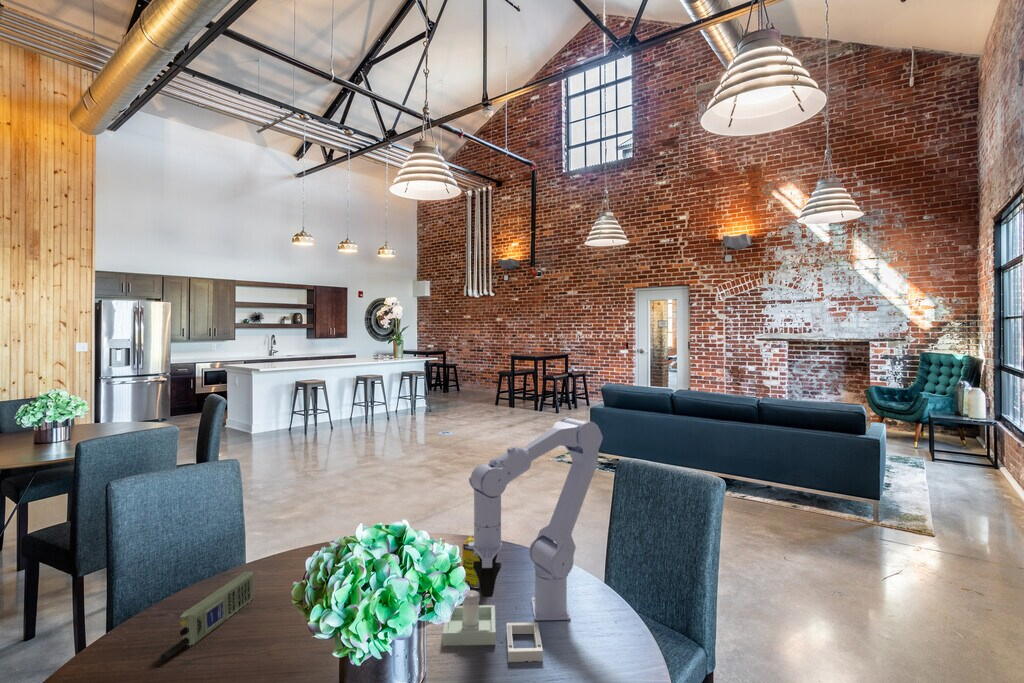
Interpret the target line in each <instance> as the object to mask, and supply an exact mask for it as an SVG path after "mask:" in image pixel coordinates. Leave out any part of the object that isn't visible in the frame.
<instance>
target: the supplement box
mask: <svg viewBox="0 0 1024 683" xmlns="http://www.w3.org/2000/svg"><path fill="white" fill-rule="evenodd" d="M469 542H474V535H470V536H469V537H468V538H467V539H466V540H465V541H464V542H463V543H462V561H461V562H462V565H461V566H463V567H464V569H465V571H466V578H465V582H466V583H467V584H468V585H469V586H470V587H471V586H472V587H479V588H480V584H479V579H478V576H477V574H476V572H475V570H474V568H473V562H474V561H480V560H479V557H478V554H477V553H476V551H475V550H474V549H469V548H468V545H469Z"/></svg>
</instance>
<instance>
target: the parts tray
mask: <svg viewBox="0 0 1024 683" xmlns="http://www.w3.org/2000/svg"><path fill="white" fill-rule="evenodd" d="M456 606H457V607H456V608H455V609H454V611H453V614H452V618H451V621H450V622H448V623H445V624H444V623H443V629H442V646H443V647H446V646H447V647H449V646H491V645H492V646H493V645H494V646H495V645H496V605H494V604H492V605H491V604H489V605H487V604H486V605H484V604H483V605H481V604H480V605H479V629H478V630H470V631H463V629H462V621H463V605H456Z"/></svg>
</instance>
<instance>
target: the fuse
mask: <svg viewBox="0 0 1024 683" xmlns="http://www.w3.org/2000/svg"><path fill="white" fill-rule="evenodd" d="M468 591H469V590H468ZM462 606H463V621H462V629H463V631H470V630H478V629H479V606H480V592H478V591H476V590H472V589H471V590H470V591H469V592H468V593H467V594H466V597H465V599H464V601H462Z"/></svg>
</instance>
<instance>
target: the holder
mask: <svg viewBox="0 0 1024 683" xmlns="http://www.w3.org/2000/svg"><path fill="white" fill-rule="evenodd" d="M539 627H540V626H539V623H538V622H532V621H531V622H528V621H527V622H506V643H507V646H506V647H507V662H508V663H526V662H525V661H528V662H532V661H538V662H543V661H544V660H543V659H544V656H543V655H544V653H543V652H544V650H543V644H542V638H541V634H540V628H539ZM512 634H534V635H533V642H534V641H535V642H534V646H535V647H517V648H515V647H514V642H513V641H514V639H513V635H512ZM528 662H527V663H528Z"/></svg>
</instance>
